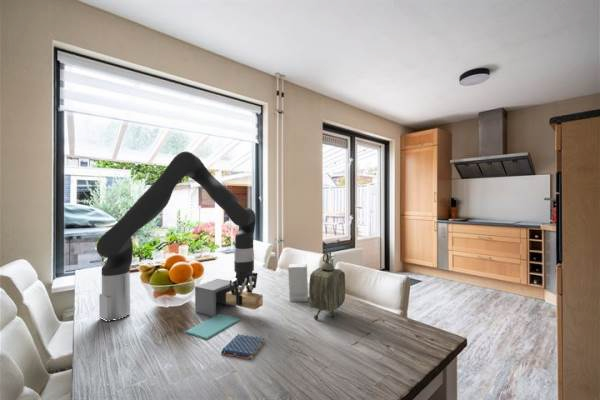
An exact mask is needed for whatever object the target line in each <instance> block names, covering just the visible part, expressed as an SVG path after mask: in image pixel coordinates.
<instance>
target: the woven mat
mask: <svg viewBox="0 0 600 400" xmlns="http://www.w3.org/2000/svg"><path fill="white" fill-rule="evenodd" d="M265 341H266V340H265V338H262V336H261V337H258V336H253V335H251V336H249V335H244V334H242V335H241V334H239V333H238V334H236V335H235V336H234V337H233V338H232V339H231V340H230V341H229V342H228V343H227V344H226V345H225V346H224V347H223V348H222V350H221V352H220V354H221V355H224V356H231V357H237V358H242V357H244V359H248V358H249V359H248V360H252V359H254V356H255V355H257V353H258V351H260V350H261V348H262V346H263V345H265V343H266V342H265Z"/></svg>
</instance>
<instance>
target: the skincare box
mask: <svg viewBox="0 0 600 400" xmlns="http://www.w3.org/2000/svg"><path fill="white" fill-rule="evenodd" d="M287 269H288V270H287V271H288V272H287V273H288V291H289V292H288V294H289V302H308V300H309V284H308V283H309V281H308V264H307V263H289V265H288V268H287Z"/></svg>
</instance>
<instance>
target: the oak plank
mask: <svg viewBox="0 0 600 400" xmlns="http://www.w3.org/2000/svg"><path fill="white" fill-rule="evenodd" d="M234 291H235V290H234ZM246 291H247V290H246ZM246 291H245V290H243V292H242V305H241V306H239V305H237V304H236V295H232V293H231V291H230V292H227V293H226V303H227V304H232V305H236V306H237V307H241V308H246V309H248V310H249V309H250V310H254V311H255V310H257V309H258V308H260V307H263V305H264V304H263V303H264V302H263V301H264V300H263V298H264V295H263V294H260V293H254V292H252V293H250V292H246ZM238 292H240V290H239V291H238ZM236 306H235V307H236Z"/></svg>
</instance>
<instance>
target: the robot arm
mask: <svg viewBox="0 0 600 400" xmlns="http://www.w3.org/2000/svg"><path fill="white" fill-rule="evenodd" d="M185 177H187V178H189V179H192V180H193V181H194V182H196V183H197V184H199V186H201V188H203V189H204V191H205V192H206V193H207V194H208V195H209V197H210V198H211V200H212V201H214V203H216V205H217V206H219V207H220V208H221V209H222V210H223V211H224V212H225V214H226V216H227V217H228V218H229V220H230V221H231V222H232V223H233V224H234V225H236V226H237V227H238V231H237V233H236V234H235V237H234V258H233V259H234V262H233V263H234V266H233V268H234V269H233V271H234V273H235V277H234V279H230V280H229V281H230V287H231V293H232V295H236V304H237V305H239V306H238V307H240V306H241V305H242V292H243V291H245V290H244V289H246V292H250V293H253V290H254V289H256V288H257V280H258V272H254V271H255V250H254V234H255V233H254V232H255V229H256V228H255V227H256V223H257V222H256V221H257V220H256V213H255V212H254V210H253V209H252V208H248V207H243V206H242V205H241V204H240V202H239V200H238V198H237V197H236V195H235V194H233V193H232V192H231V190H229V189H228V188H227V187H226V186H224V184H222V183H221V182H220V181H219V180H218V179H217V178H215V176H214V175H213V174H212V173H211V172H210V171H209V170H208V168H207V167H206V166H205V164H204V163H203V162H202V160H201V159H200V158H199V157H198V156H196V155H195V154H193V153H192V152H190V151H186V150H185V151H182V152H178V153H177V154H176V155H175V156H174V157H173V158H172V160H171V161H170V163H169V164H168V165H167V167H166V168H165V170H163V172H162V173H161V174H160V175H159V177H158V178H157V179H156V180H155V181H154V182H153V183H152V184H151V185H150V187H149V188H148V189H147V190H146V191H144V193H142V195H140V197H139V198H138V199H137V201H136V202H134V204H133V205H132V206H131V207H130V208H129V209H128V210H127V211H126V212H125V214H124V215H123V216H122V218H121V219H119V220H118V221H117V223H115V224H114V225H113V226H112V227H110V229H109V230H107V231H106V232H105V233H104V234H103V235H101V236H100V238H98V240H97V242H96V252H97V254H98V255H100V256H101V257H103V258H107V259H106V262H105V264H104V265H102V267H101V294H99V297H98V298H99V299H98V301H99V304H98V305H99V307H98V308H99V311H98V312H99V318H100V317H101V318H103V319H105V320H107V321H109V320H113V319H119V318H122V317H125V316H127V315H129V314H131V273H130V272H131V265H132V263H133V261H132V260H133V239H132V236H134V235H135V234H136V232H138V231H139V230H141V229H142V228H143V227H144V226H146V225H148V224H149V223H150V222H153V220H154V219H155V218H156V217H157V216H159V215H160V214H161V212H162V211H163V210H164V209H165V208H166V207H167V205H168V203H169V202H170V200H171V197H172V195H173V192H174V189H175V188H176V186H177V185H178V184H179V183H180V182H181V180H183V179H184V178H185ZM239 289H240V292H238V291H239ZM234 290H235V291H234ZM129 316H130V315H129ZM127 317H128V316H127ZM125 318H126V317H125ZM122 319H123V318H122ZM119 320H120V319H119Z"/></svg>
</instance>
